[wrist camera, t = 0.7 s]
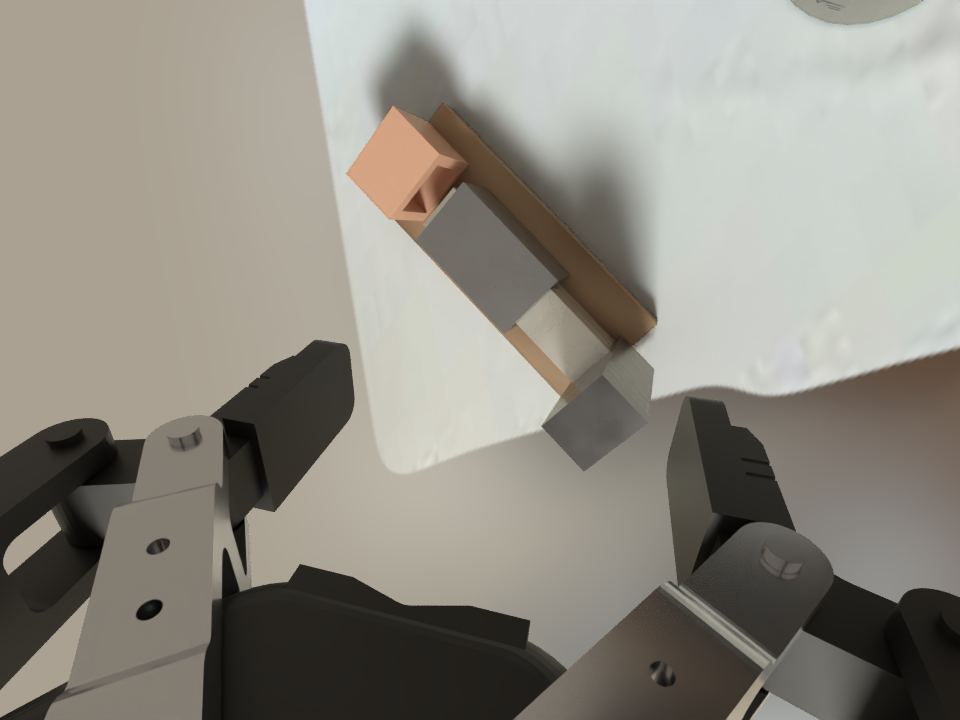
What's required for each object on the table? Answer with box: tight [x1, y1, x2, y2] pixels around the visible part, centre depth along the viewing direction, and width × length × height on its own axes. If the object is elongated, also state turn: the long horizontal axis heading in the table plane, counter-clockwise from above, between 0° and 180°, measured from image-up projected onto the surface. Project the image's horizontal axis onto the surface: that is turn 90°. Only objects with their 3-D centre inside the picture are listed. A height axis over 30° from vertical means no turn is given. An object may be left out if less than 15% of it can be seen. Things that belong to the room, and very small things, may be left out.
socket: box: [346, 106, 469, 221], centre depth 33 cm, size 5×4×5 cm
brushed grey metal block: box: [423, 187, 654, 471], centre depth 29 cm, size 4×16×10 cm, turn 46°
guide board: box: [395, 103, 657, 396], centre depth 35 cm, size 8×20×2 cm, turn 46°
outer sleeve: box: [416, 182, 571, 334], centre depth 32 cm, size 5×8×4 cm, turn 46°
